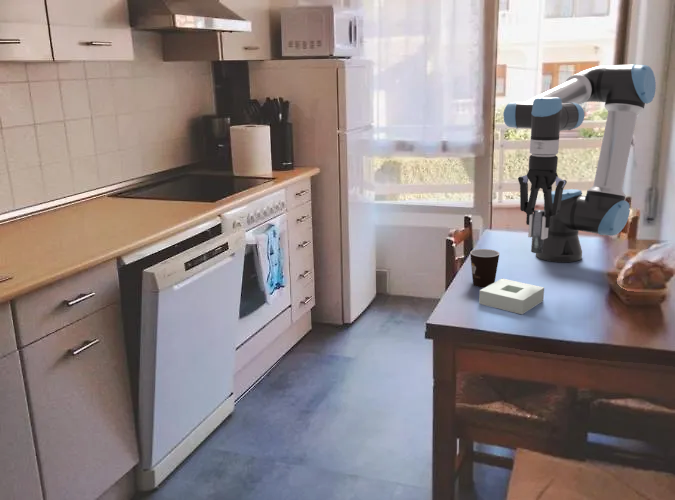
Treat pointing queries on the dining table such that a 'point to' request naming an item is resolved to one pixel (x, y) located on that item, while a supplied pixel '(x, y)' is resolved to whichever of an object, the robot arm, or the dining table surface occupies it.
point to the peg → (537, 232)
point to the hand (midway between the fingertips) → (537, 237)
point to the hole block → (511, 296)
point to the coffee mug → (484, 266)
